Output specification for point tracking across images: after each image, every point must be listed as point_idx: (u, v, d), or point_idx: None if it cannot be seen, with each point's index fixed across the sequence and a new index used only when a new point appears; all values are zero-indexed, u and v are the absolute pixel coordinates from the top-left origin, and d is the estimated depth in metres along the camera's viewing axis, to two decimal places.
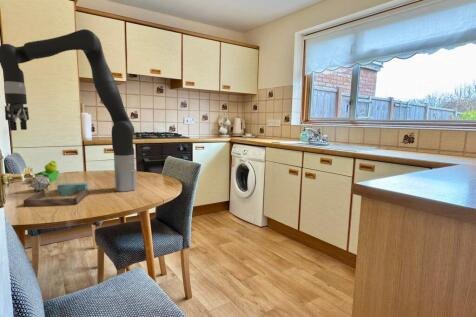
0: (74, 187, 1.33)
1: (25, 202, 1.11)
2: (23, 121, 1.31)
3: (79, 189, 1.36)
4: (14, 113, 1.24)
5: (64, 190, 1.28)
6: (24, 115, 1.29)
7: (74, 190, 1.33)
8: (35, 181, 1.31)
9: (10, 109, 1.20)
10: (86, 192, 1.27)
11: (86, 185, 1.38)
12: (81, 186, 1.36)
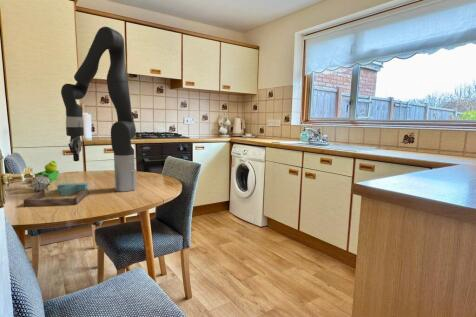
0: (74, 187, 1.33)
1: (25, 202, 1.11)
2: None
3: (79, 189, 1.36)
4: (75, 145, 1.40)
5: (64, 190, 1.28)
6: (79, 146, 1.42)
7: (74, 190, 1.33)
8: (35, 181, 1.31)
9: (73, 146, 1.36)
10: (86, 192, 1.27)
11: (86, 185, 1.38)
12: (81, 186, 1.36)
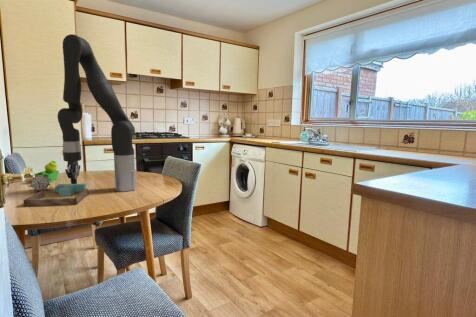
0: (72, 188, 1.32)
1: (25, 202, 1.11)
2: None
3: (78, 190, 1.34)
4: None
5: (62, 191, 1.26)
6: (77, 170, 1.38)
7: (72, 191, 1.32)
8: (35, 181, 1.31)
9: (70, 172, 1.33)
10: (86, 192, 1.27)
11: (85, 186, 1.36)
12: (80, 187, 1.34)
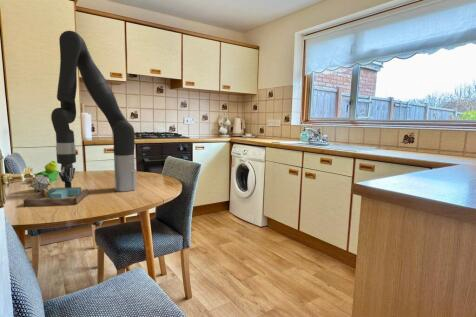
0: (66, 192, 1.25)
1: (25, 202, 1.11)
2: None
3: (71, 194, 1.27)
4: None
5: (54, 195, 1.19)
6: (71, 173, 1.31)
7: (66, 195, 1.25)
8: (35, 181, 1.31)
9: (64, 175, 1.25)
10: (86, 192, 1.27)
11: (79, 190, 1.29)
12: (73, 191, 1.27)
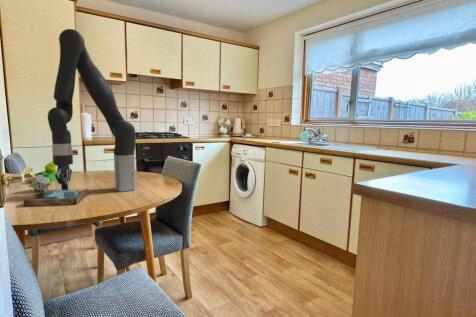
0: (62, 194, 1.21)
1: (25, 202, 1.11)
2: None
3: (68, 196, 1.23)
4: (63, 175, 1.25)
5: (50, 198, 1.15)
6: (68, 175, 1.27)
7: None
8: (35, 181, 1.31)
9: (61, 177, 1.21)
10: (86, 192, 1.27)
11: (76, 192, 1.25)
12: (70, 193, 1.23)
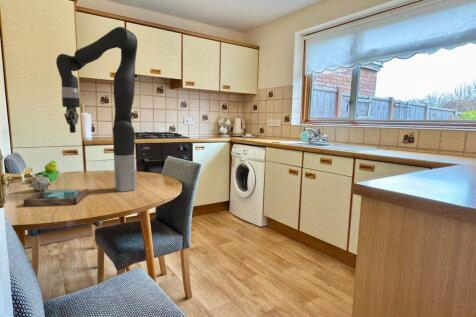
0: (62, 194, 1.21)
1: (25, 202, 1.11)
2: None
3: (68, 196, 1.23)
4: None
5: (50, 198, 1.15)
6: (75, 117, 1.43)
7: None
8: (35, 181, 1.31)
9: (69, 117, 1.37)
10: (86, 192, 1.27)
11: (76, 192, 1.25)
12: (70, 193, 1.23)
